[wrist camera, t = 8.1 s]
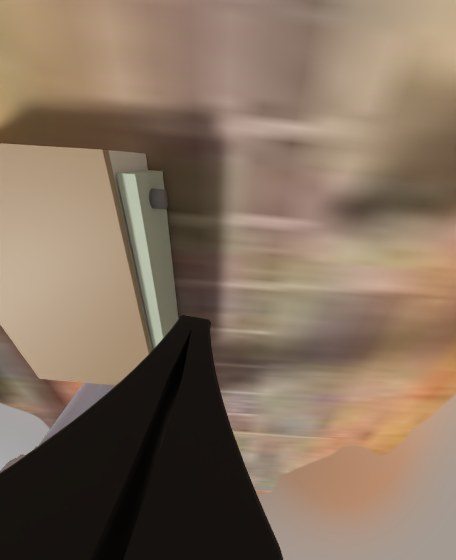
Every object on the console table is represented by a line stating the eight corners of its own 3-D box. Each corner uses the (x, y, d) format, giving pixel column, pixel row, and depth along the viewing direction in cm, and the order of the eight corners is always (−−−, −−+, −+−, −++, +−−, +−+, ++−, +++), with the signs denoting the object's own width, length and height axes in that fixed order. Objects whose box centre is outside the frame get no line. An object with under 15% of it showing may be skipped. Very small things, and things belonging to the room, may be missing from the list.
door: (188, 349, 24) (178, 383, 20) (172, 348, 24) (160, 382, 20) (173, 171, 14) (149, 175, 10) (147, 170, 14) (115, 172, 10)
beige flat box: (171, 348, 24) (156, 389, 20) (75, 340, 24) (39, 378, 20) (145, 153, 14) (102, 149, 10) (-22, 143, 14) (-137, 134, 10)
